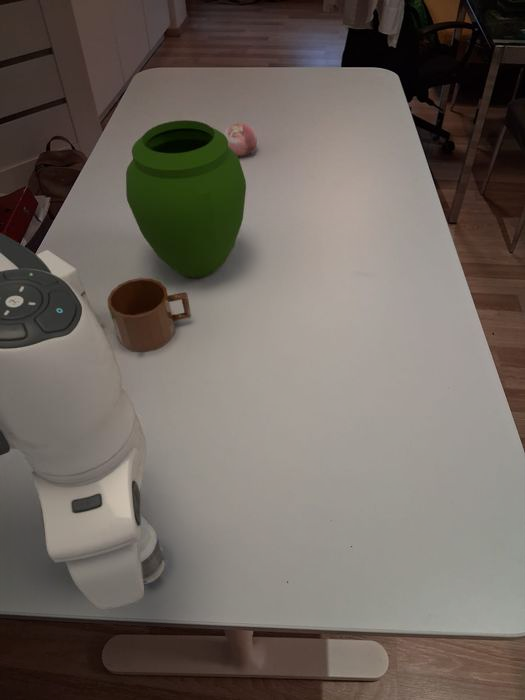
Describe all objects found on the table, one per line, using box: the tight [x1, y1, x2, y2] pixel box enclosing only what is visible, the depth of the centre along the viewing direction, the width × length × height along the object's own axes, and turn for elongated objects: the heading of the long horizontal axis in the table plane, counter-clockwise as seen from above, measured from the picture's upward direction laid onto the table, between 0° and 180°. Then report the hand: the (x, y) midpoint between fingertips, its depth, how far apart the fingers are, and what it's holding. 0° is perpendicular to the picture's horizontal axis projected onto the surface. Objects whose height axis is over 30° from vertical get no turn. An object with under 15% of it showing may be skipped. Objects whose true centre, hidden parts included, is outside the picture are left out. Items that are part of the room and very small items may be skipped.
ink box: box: [36, 249, 93, 310], centre depth 85 cm, size 9×5×12 cm, turn 49°
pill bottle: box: [139, 515, 166, 585], centre depth 58 cm, size 5×5×8 cm
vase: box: [125, 119, 247, 279], centre depth 90 cm, size 20×20×24 cm
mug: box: [107, 277, 192, 353], centre depth 85 cm, size 12×9×8 cm
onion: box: [223, 122, 258, 158], centre depth 126 cm, size 8×8×7 cm
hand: (128, 522), depth 54 cm, fingers open, 8 cm apart
